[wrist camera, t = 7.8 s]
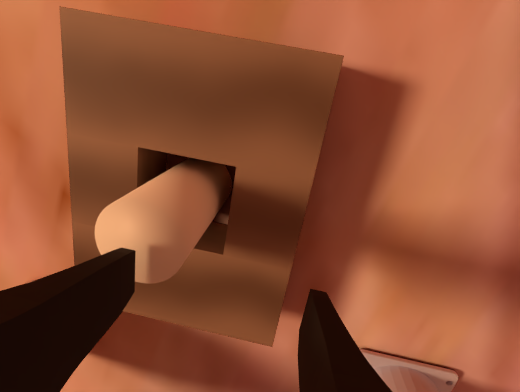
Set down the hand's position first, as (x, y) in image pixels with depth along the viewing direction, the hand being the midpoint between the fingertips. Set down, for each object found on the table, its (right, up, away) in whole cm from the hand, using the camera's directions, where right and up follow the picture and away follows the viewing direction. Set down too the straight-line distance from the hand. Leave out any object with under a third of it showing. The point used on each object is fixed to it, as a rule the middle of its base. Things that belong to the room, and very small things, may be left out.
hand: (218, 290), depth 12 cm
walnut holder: (-2, +5, +9) cm, 10 cm away
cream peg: (-2, +5, +9) cm, 10 cm away
